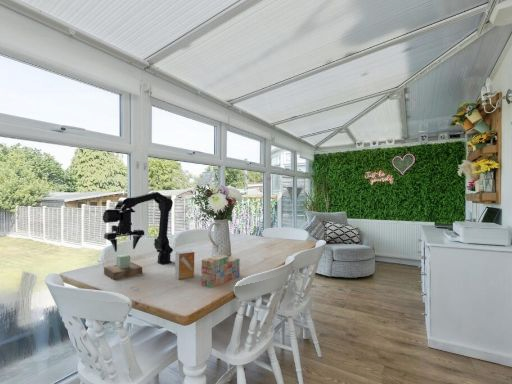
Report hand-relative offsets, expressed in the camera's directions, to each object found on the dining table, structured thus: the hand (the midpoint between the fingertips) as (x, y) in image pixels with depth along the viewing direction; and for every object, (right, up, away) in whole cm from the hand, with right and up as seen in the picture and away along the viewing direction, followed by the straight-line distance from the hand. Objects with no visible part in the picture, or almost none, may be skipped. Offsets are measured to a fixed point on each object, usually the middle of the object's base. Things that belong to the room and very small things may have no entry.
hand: (124, 250), depth 138 cm
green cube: (0, -8, -2) cm, 9 cm away
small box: (+33, -13, -5) cm, 36 cm away
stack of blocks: (+53, -13, -10) cm, 56 cm away
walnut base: (0, -13, -2) cm, 13 cm away
